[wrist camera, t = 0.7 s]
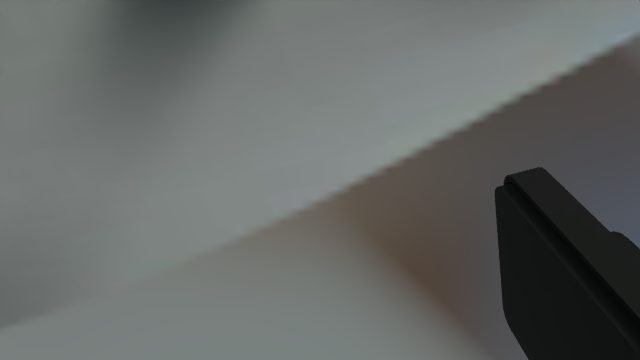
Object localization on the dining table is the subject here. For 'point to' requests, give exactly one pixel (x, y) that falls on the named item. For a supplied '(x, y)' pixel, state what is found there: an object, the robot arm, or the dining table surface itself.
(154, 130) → the dining table surface
